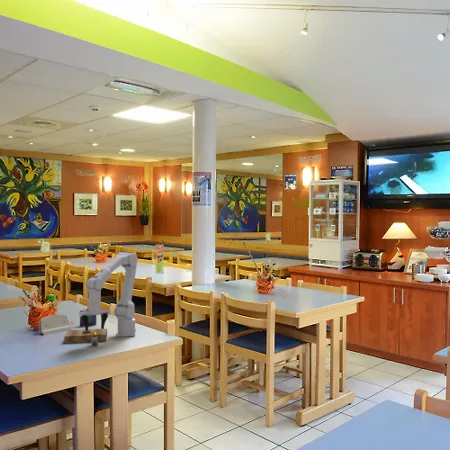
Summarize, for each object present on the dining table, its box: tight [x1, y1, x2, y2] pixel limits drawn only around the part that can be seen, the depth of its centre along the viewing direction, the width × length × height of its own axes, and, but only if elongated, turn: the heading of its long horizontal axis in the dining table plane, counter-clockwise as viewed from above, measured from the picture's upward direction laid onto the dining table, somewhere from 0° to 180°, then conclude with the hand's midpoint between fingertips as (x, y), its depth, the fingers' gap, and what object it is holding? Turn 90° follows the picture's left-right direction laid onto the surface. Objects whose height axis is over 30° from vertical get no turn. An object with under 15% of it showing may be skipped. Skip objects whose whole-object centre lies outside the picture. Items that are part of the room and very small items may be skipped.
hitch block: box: [63, 328, 108, 344], centre depth 235 cm, size 20×12×4 cm, turn 101°
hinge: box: [38, 314, 72, 336], centre depth 250 cm, size 17×5×10 cm, turn 138°
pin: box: [90, 332, 99, 347], centre depth 225 cm, size 4×4×6 cm
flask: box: [79, 306, 97, 327], centre depth 262 cm, size 9×3×11 cm, turn 112°
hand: (94, 329), depth 224 cm, fingers open, 7 cm apart
